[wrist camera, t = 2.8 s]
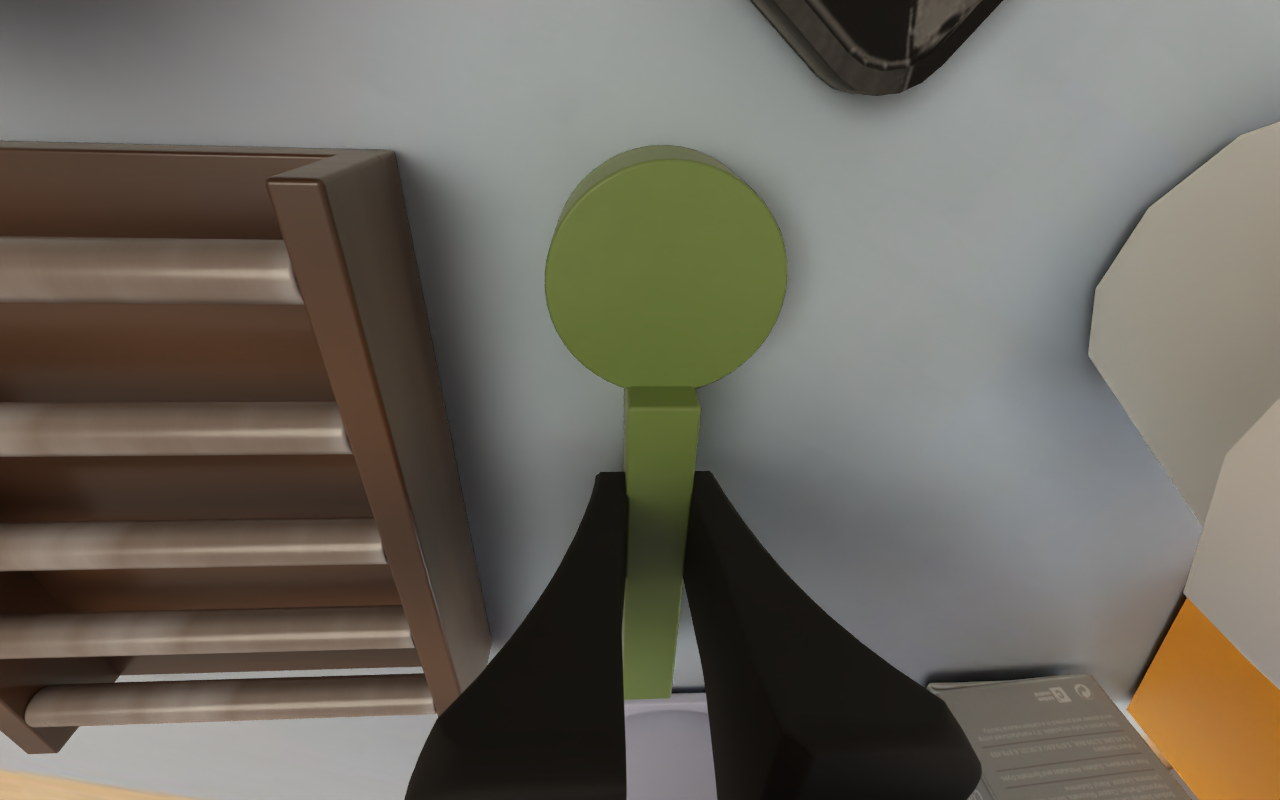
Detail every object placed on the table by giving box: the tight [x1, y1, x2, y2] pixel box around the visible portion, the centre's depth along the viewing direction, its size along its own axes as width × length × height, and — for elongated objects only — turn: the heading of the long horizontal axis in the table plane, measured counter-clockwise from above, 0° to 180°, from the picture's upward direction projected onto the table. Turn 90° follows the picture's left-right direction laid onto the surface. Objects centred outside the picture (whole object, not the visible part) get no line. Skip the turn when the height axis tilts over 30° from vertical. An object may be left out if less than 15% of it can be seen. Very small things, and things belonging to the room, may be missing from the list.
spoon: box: [545, 145, 787, 700], centre depth 13 cm, size 14×4×3 cm, turn 179°
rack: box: [0, 141, 492, 754], centre depth 12 cm, size 15×12×3 cm
